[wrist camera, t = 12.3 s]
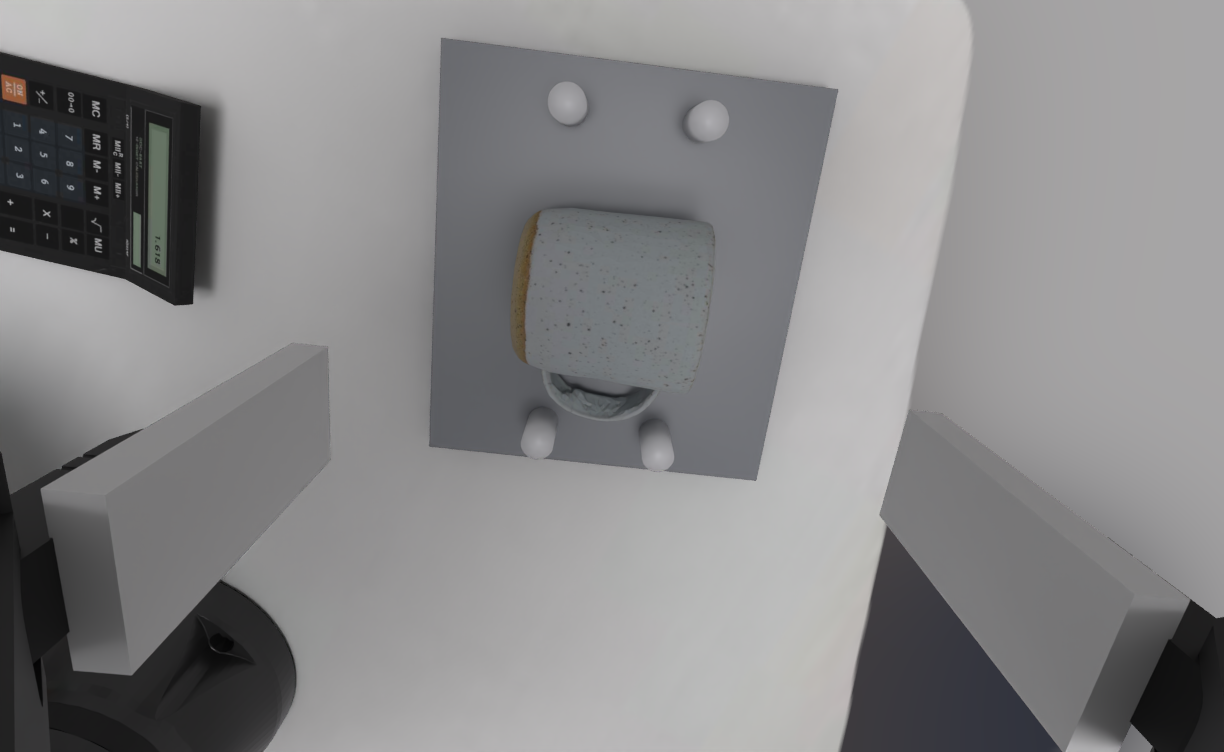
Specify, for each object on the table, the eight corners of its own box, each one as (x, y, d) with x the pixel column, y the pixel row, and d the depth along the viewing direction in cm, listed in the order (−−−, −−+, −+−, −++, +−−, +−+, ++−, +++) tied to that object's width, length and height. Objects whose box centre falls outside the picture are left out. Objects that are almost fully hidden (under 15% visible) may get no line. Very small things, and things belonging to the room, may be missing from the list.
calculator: (-23, 46, 30) (-89, 34, 27) (228, 109, 31) (190, 104, 28) (-11, 241, 33) (-69, 249, 30) (218, 295, 34) (183, 307, 31)
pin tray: (436, 435, 36) (413, 471, 32) (449, 43, 30) (422, 24, 26) (750, 468, 37) (768, 508, 33) (827, 92, 31) (863, 81, 26)
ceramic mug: (534, 196, 31) (510, 211, 23) (704, 214, 31) (732, 235, 24) (522, 401, 34) (497, 470, 27) (674, 416, 35) (691, 488, 27)
